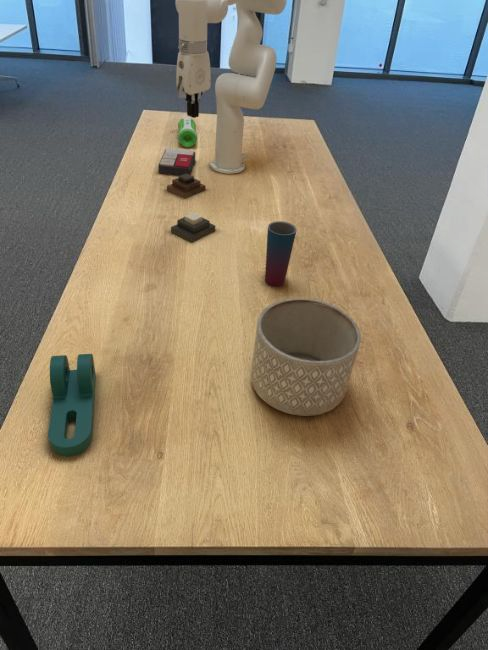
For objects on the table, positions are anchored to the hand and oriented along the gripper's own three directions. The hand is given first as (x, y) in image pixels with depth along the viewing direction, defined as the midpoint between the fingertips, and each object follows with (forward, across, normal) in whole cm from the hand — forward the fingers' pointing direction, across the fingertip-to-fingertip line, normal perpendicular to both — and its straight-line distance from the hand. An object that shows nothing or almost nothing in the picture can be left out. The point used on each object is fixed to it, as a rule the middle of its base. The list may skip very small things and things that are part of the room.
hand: (192, 116), depth 148 cm
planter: (+23, -51, -74) cm, 92 cm away
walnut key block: (+25, +1, +4) cm, 25 cm away
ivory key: (+21, -19, -17) cm, 33 cm away
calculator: (+26, +13, +19) cm, 34 cm away
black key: (+22, +1, +4) cm, 22 cm away
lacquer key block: (+24, -19, -17) cm, 35 cm away
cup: (+24, -23, -49) cm, 59 cm away
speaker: (+26, +36, +36) cm, 57 cm away
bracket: (+22, -84, -48) cm, 99 cm away
